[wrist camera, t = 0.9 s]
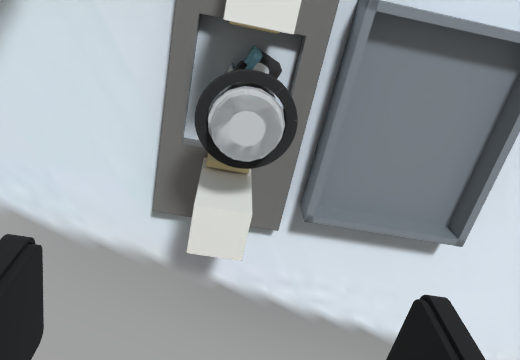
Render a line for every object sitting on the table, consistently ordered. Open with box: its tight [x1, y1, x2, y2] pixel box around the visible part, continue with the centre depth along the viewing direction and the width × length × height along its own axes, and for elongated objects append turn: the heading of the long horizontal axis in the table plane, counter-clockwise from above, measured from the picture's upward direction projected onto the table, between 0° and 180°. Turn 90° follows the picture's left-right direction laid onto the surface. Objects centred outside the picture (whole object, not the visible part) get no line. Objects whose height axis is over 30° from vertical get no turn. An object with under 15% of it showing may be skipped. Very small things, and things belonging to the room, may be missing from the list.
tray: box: [301, 0, 520, 247], centre depth 31 cm, size 13×16×2 cm
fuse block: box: [153, 0, 339, 261], centre depth 27 cm, size 10×21×8 cm, turn 168°
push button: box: [195, 46, 298, 169], centre depth 26 cm, size 7×5×10 cm
